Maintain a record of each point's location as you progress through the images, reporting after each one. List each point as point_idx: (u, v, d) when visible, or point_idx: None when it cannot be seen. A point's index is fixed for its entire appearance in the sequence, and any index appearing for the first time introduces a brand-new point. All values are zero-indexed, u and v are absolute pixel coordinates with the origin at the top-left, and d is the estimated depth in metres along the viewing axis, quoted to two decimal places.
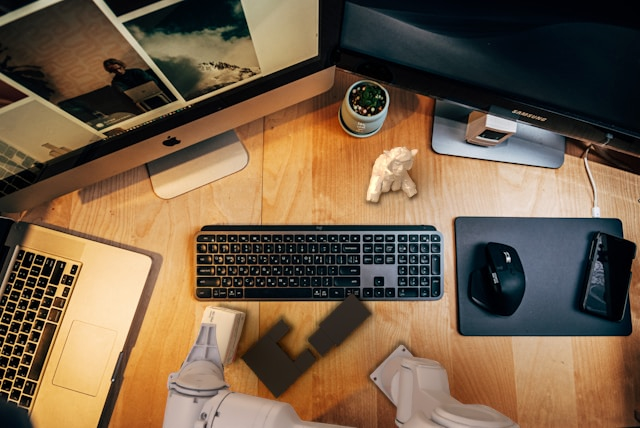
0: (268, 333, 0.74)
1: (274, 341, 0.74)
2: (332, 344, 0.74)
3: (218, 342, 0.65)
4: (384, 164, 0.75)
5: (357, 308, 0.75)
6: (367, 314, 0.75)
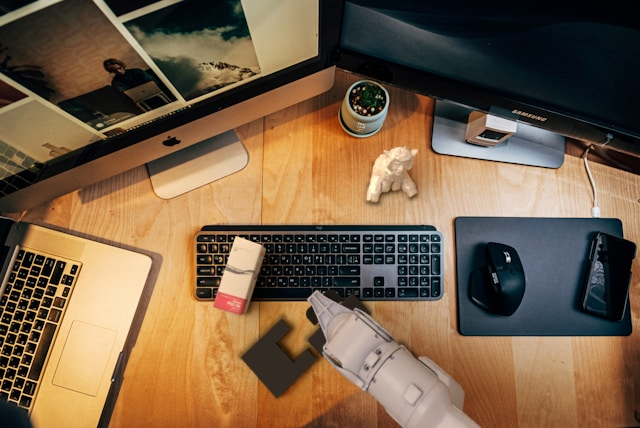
0: (268, 333, 0.74)
1: (274, 341, 0.74)
2: None
3: None
4: (384, 164, 0.75)
5: (357, 308, 0.75)
6: None
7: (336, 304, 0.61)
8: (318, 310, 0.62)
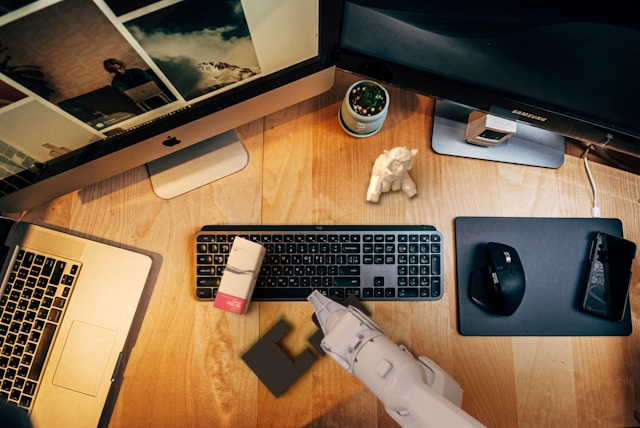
0: (268, 333, 0.74)
1: (274, 341, 0.74)
2: None
3: None
4: (384, 164, 0.75)
5: (357, 308, 0.75)
6: (367, 314, 0.75)
7: (333, 302, 0.68)
8: (317, 308, 0.68)
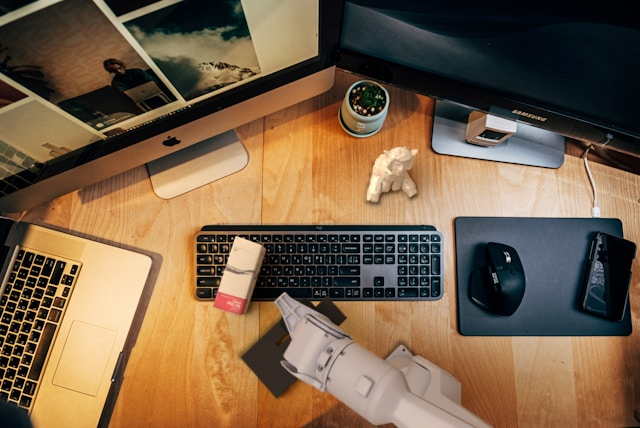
0: (268, 333, 0.74)
1: (274, 341, 0.74)
2: None
3: None
4: (384, 164, 0.75)
5: (332, 312, 0.69)
6: (343, 319, 0.69)
7: (303, 306, 0.62)
8: (285, 312, 0.62)
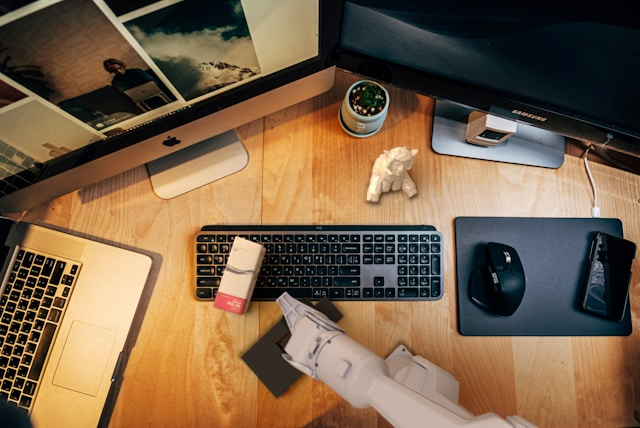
0: (268, 333, 0.74)
1: (274, 341, 0.74)
2: None
3: None
4: (384, 164, 0.75)
5: (329, 311, 0.74)
6: (340, 316, 0.74)
7: (302, 305, 0.67)
8: (286, 310, 0.67)
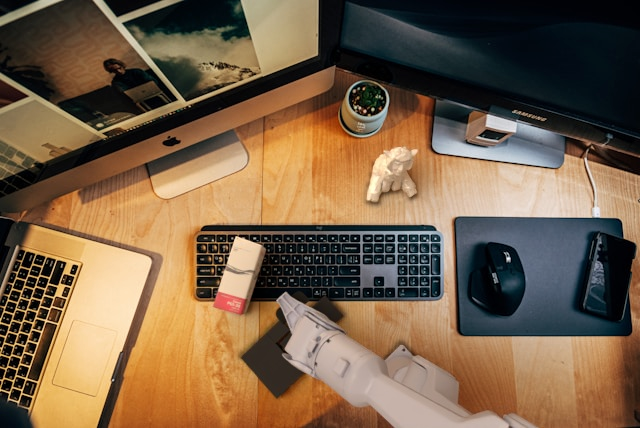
0: (268, 333, 0.74)
1: (274, 341, 0.74)
2: None
3: None
4: (384, 164, 0.75)
5: (329, 310, 0.75)
6: (339, 316, 0.75)
7: (303, 305, 0.67)
8: (286, 310, 0.67)
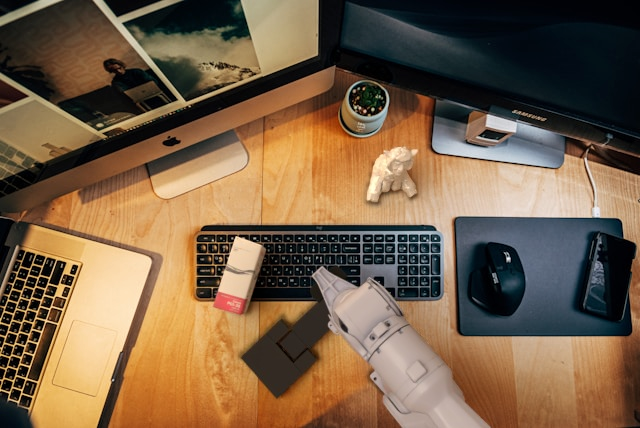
0: (268, 333, 0.74)
1: (274, 341, 0.74)
2: (304, 346, 0.74)
3: None
4: (384, 164, 0.75)
5: None
6: None
7: (341, 280, 0.60)
8: (323, 286, 0.60)
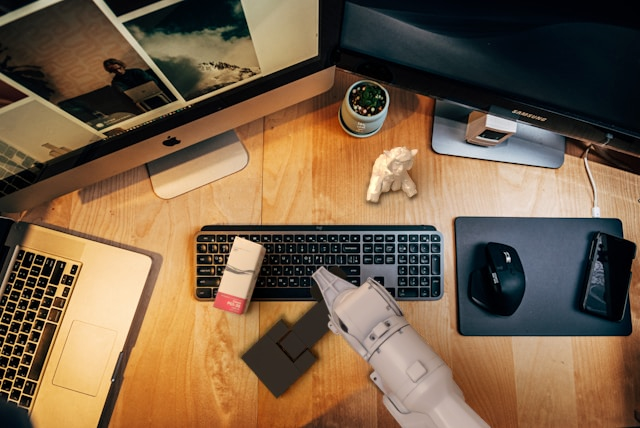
0: (268, 333, 0.74)
1: (274, 341, 0.74)
2: (304, 346, 0.74)
3: None
4: (384, 164, 0.75)
5: None
6: None
7: (341, 280, 0.60)
8: (323, 286, 0.60)
